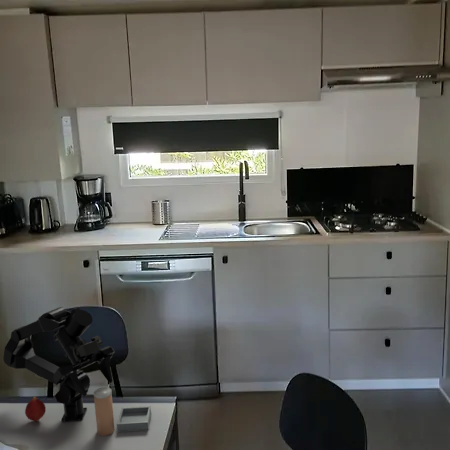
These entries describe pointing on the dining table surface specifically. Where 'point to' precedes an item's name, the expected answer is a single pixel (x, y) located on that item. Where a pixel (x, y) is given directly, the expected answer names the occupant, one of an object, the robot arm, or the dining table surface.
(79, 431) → the dining table surface
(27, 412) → the onion
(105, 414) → the brown cylinder grey top
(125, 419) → the tray
